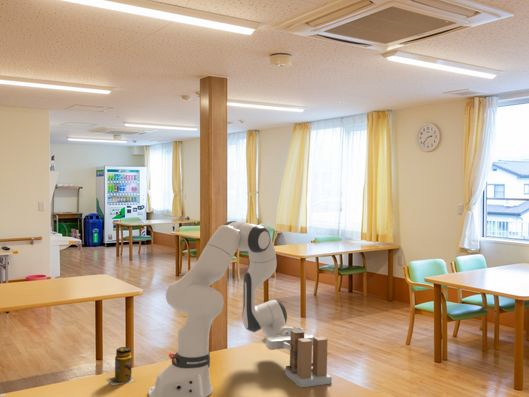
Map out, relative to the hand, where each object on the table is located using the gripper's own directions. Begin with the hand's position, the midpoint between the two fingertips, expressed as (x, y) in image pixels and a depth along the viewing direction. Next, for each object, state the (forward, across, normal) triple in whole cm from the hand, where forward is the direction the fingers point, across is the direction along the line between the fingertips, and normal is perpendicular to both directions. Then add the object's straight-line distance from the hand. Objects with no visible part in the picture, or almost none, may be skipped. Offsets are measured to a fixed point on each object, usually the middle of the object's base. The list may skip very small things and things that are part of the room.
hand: (298, 347), depth 196 cm
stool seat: (+2, +3, +12) cm, 13 cm away
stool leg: (-1, 0, +8) cm, 8 cm away
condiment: (-19, -65, +12) cm, 69 cm away
